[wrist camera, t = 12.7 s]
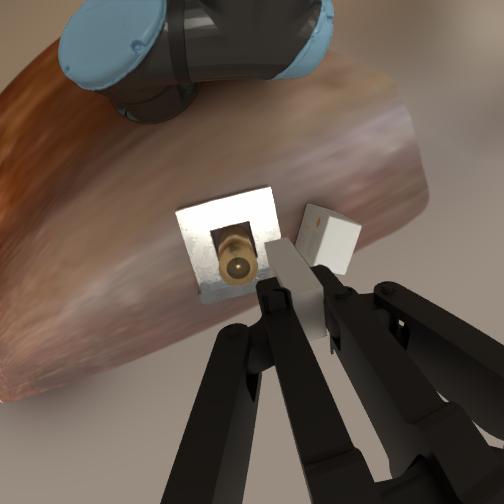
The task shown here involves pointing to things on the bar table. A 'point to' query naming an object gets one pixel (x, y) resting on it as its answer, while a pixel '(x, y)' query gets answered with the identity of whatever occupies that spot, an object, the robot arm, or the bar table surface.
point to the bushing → (236, 257)
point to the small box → (327, 238)
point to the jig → (221, 215)
